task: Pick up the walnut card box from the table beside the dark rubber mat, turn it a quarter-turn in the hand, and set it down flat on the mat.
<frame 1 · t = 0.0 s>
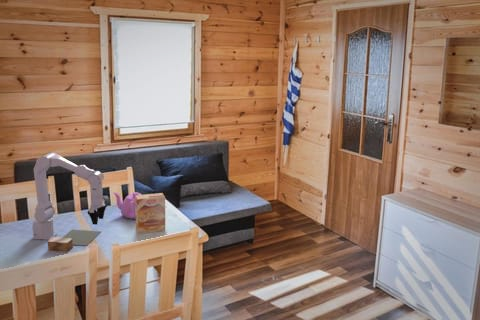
hand: (98, 221, 237), 10 cm above the table, tool pointing down, fingers open, 7 cm apart
mat: (79, 237, 241), on the table
card box: (60, 249, 228), on the table
teapot: (132, 215, 275), on the table
coffeecake box: (150, 230, 254), on the table
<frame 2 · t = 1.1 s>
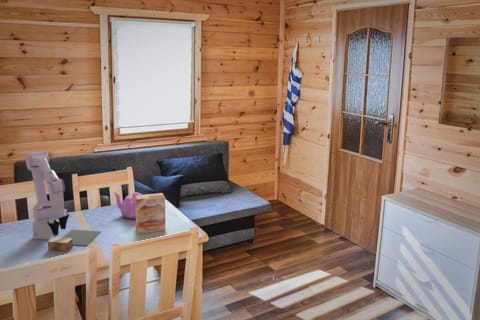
hand: (59, 231, 226), 9 cm above the table, tool pointing down, fingers open, 7 cm apart
nothing on the table moved.
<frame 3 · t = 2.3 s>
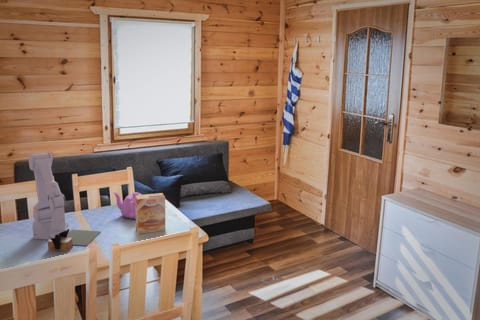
hand: (60, 246, 228), 1 cm above the table, tool pointing down, fingers closed on card box, 5 cm apart
card box: (60, 249, 228), on the table, touching gripper
everything else where it was.
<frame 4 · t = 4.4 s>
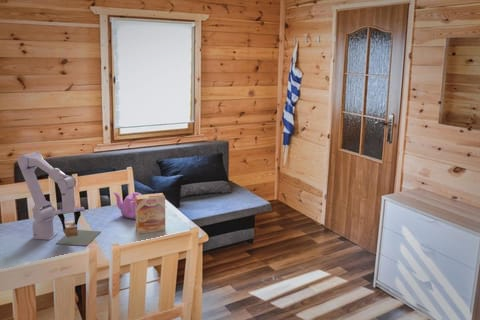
hand: (70, 227, 233), 8 cm above the table, tool pointing down, fingers closed on card box, 5 cm apart
card box: (70, 233, 234), point 5 cm above the table, touching gripper
everything else where it was.
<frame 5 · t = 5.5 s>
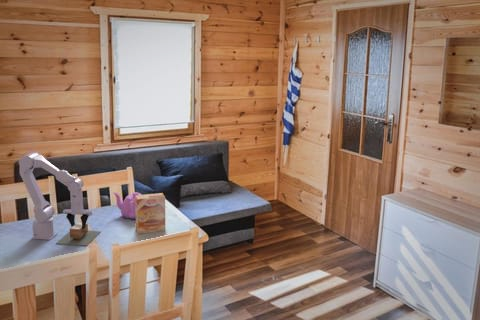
hand: (78, 227, 240), 6 cm above the table, tool pointing down, fingers closed on card box, 5 cm apart
card box: (79, 234, 241), point 2 cm above the table, touching gripper
everything else where it was.
when the fingers open (3 cm above the table, at t = 6.4 s): card box stays where it is, resting on mat.
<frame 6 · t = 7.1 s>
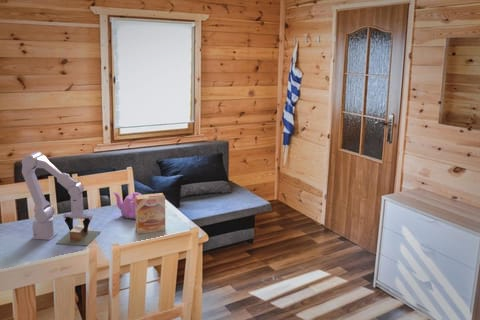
hand: (78, 231, 240), 3 cm above the table, tool pointing down, fingers open, 7 cm apart
card box: (79, 237, 241), resting on mat
everything else where it was.
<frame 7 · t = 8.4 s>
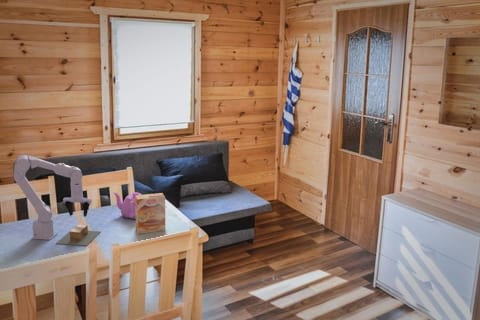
hand: (78, 215, 246), 9 cm above the table, tool pointing down, fingers open, 7 cm apart
nothing on the table moved.
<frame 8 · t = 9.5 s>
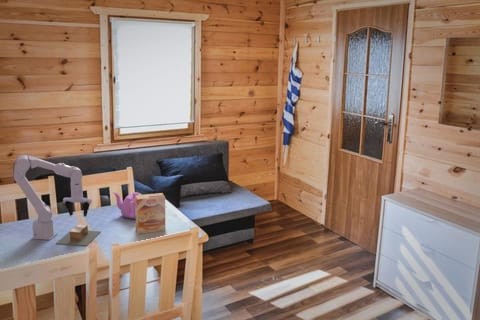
hand: (78, 215, 246), 9 cm above the table, tool pointing down, fingers open, 7 cm apart
nothing on the table moved.
at the end: card box inside the target area on the mat (0.1 cm from its centre), point 0.4 cm above the mat's base; card box tilted 0°; the gripper is holding nothing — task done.
